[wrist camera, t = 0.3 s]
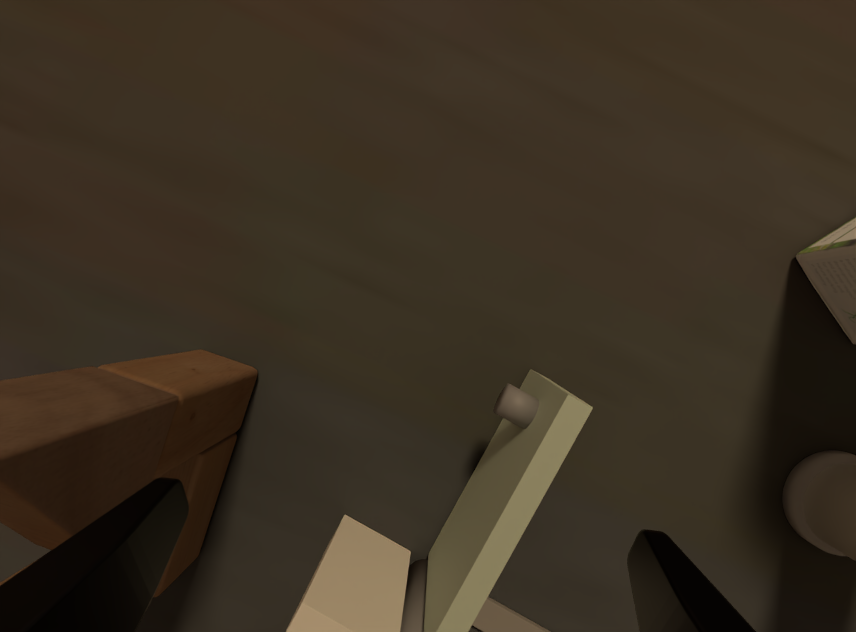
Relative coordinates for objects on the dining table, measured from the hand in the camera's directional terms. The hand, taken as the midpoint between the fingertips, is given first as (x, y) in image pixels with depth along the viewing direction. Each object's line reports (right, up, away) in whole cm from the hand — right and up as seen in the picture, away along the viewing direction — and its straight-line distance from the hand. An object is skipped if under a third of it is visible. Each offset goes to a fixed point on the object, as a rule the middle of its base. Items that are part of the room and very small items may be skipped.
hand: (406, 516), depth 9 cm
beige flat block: (+3, -3, +14) cm, 15 cm away
